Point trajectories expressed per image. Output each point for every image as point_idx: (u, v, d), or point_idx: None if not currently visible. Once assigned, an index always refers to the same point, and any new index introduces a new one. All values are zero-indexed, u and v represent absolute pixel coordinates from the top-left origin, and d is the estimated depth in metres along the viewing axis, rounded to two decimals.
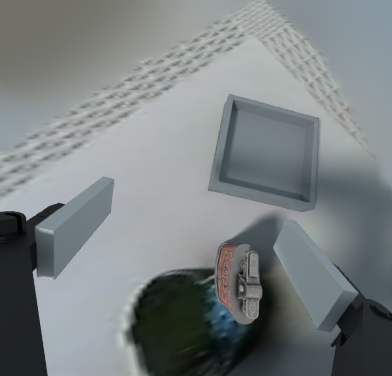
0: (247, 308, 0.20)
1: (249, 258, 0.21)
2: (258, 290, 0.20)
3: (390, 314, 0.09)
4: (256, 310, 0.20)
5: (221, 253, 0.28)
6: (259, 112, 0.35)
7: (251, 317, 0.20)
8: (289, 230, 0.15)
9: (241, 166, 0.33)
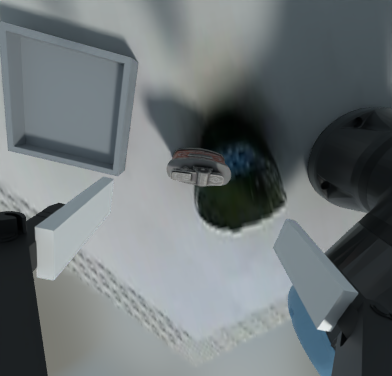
0: (215, 184, 0.24)
1: (176, 179, 0.24)
2: (201, 176, 0.23)
3: (390, 314, 0.09)
4: (217, 177, 0.24)
5: None
6: (19, 109, 0.29)
7: (222, 181, 0.24)
8: (289, 230, 0.15)
9: (94, 136, 0.31)
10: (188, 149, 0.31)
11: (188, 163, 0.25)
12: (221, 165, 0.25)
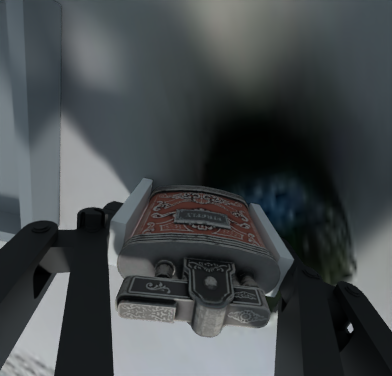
0: (245, 325, 0.08)
1: None
2: (207, 314, 0.08)
3: (317, 274, 0.10)
4: (253, 310, 0.08)
5: None
6: None
7: (265, 319, 0.08)
8: (251, 212, 0.16)
9: None
10: (177, 190, 0.16)
11: (171, 252, 0.10)
12: (257, 256, 0.10)
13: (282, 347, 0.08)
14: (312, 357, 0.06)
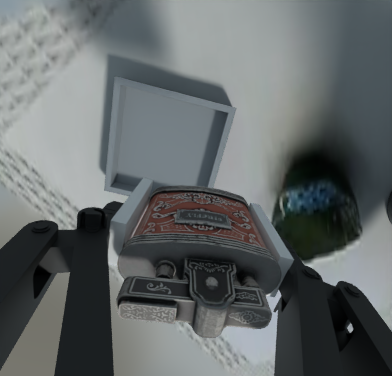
0: (246, 326, 0.08)
1: None
2: (208, 315, 0.08)
3: (317, 274, 0.10)
4: (254, 311, 0.08)
5: None
6: (117, 152, 0.30)
7: (267, 320, 0.08)
8: (251, 212, 0.16)
9: (182, 175, 0.32)
10: (178, 190, 0.16)
11: (172, 252, 0.10)
12: (258, 257, 0.10)
13: (282, 347, 0.08)
14: (312, 357, 0.06)
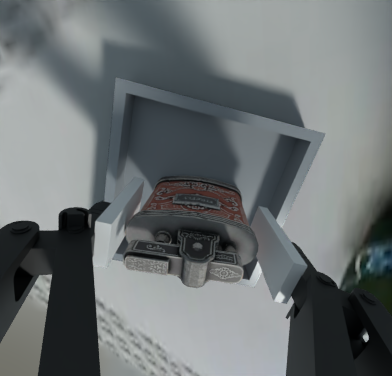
0: (223, 281, 0.11)
1: (135, 268, 0.11)
2: (192, 268, 0.10)
3: (332, 282, 0.10)
4: (230, 268, 0.10)
5: None
6: None
7: (240, 276, 0.10)
8: (260, 216, 0.16)
9: None
10: (179, 179, 0.18)
11: (168, 224, 0.12)
12: (238, 230, 0.12)
13: (294, 353, 0.08)
14: (325, 364, 0.06)
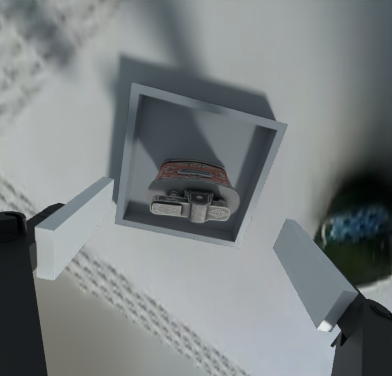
0: (217, 219, 0.16)
1: (158, 213, 0.16)
2: (197, 209, 0.15)
3: (390, 314, 0.09)
4: (221, 209, 0.16)
5: None
6: (131, 176, 0.24)
7: (227, 215, 0.16)
8: (289, 230, 0.15)
9: None
10: (179, 161, 0.23)
11: (178, 186, 0.17)
12: (226, 188, 0.17)
13: None
14: None
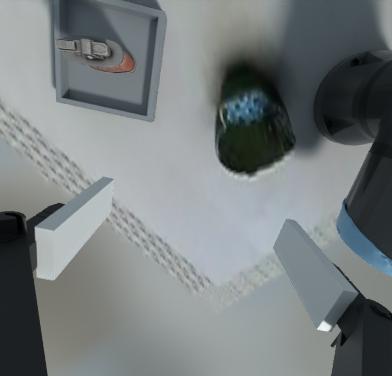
0: (99, 53, 0.25)
1: (61, 48, 0.25)
2: (83, 42, 0.25)
3: (390, 314, 0.09)
4: (100, 45, 0.25)
5: (92, 67, 0.33)
6: (65, 65, 0.33)
7: (105, 49, 0.25)
8: (289, 230, 0.15)
9: (128, 88, 0.35)
10: None
11: (79, 40, 0.27)
12: (111, 41, 0.27)
13: None
14: None
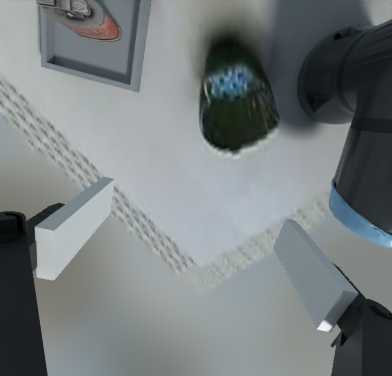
0: (79, 10, 0.26)
1: (41, 3, 0.26)
2: None
3: (390, 314, 0.09)
4: (79, 1, 0.26)
5: (77, 32, 0.33)
6: (51, 30, 0.34)
7: (84, 6, 0.26)
8: (289, 230, 0.15)
9: (113, 57, 0.36)
10: None
11: None
12: (91, 1, 0.27)
13: None
14: None
